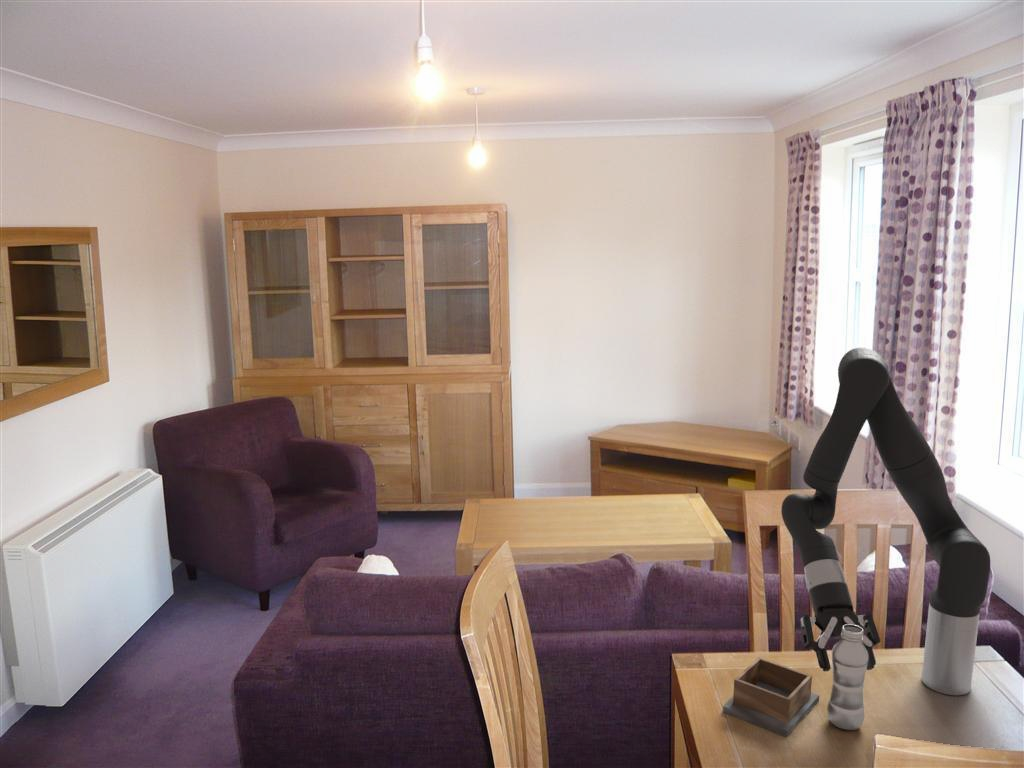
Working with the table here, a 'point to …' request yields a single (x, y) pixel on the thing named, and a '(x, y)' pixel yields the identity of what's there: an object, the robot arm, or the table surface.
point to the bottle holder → (772, 696)
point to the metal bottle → (848, 679)
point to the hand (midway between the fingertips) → (849, 669)
